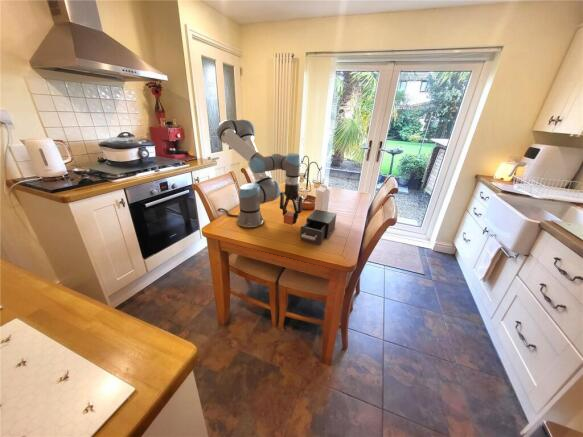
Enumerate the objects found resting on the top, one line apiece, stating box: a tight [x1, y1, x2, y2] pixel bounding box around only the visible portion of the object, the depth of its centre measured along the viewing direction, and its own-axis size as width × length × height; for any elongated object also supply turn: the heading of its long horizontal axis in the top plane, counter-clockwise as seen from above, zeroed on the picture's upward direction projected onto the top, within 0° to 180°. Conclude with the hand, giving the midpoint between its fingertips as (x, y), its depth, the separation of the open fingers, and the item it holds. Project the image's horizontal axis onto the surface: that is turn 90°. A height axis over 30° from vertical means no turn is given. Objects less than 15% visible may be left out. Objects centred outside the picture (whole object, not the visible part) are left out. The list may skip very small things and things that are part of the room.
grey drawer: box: [299, 220, 327, 246], centre depth 123 cm, size 18×11×8 cm, turn 155°
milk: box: [314, 183, 331, 212], centre depth 147 cm, size 6×6×22 cm
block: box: [283, 210, 295, 226], centre depth 135 cm, size 6×6×6 cm
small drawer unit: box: [305, 209, 337, 240], centre depth 133 cm, size 15×13×10 cm
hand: (289, 221), depth 136 cm, fingers closed on block, 5 cm apart
